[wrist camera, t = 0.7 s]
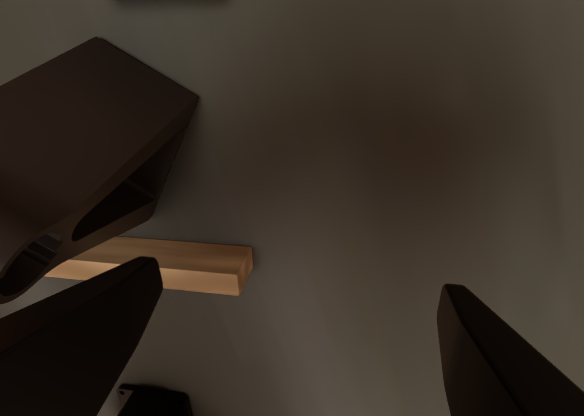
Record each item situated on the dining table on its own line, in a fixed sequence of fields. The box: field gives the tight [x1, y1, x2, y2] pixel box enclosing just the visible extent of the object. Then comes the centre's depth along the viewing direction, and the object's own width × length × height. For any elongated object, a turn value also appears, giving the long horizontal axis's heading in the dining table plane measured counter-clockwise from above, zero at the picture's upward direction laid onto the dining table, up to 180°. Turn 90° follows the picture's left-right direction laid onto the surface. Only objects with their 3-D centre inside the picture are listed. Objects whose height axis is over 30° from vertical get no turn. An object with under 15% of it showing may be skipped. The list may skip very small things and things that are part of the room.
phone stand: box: [0, 37, 198, 304], centre depth 16 cm, size 9×6×12 cm, turn 150°
